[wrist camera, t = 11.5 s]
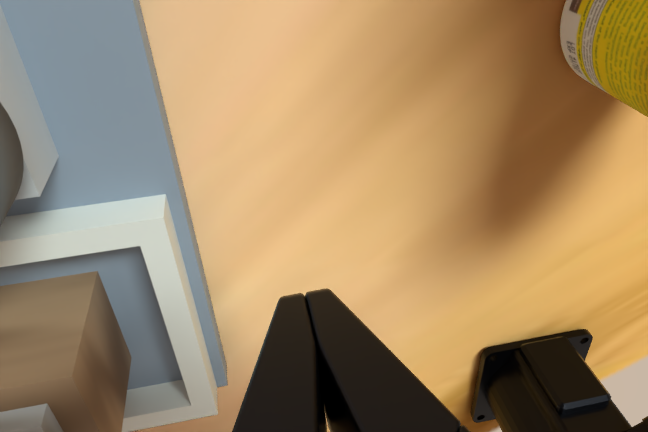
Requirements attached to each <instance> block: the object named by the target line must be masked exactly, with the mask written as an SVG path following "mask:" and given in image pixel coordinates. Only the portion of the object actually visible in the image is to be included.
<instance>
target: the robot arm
mask: <svg viewBox="0 0 648 432" xmlns="http://www.w3.org/2000/svg"><path fill="white" fill-rule="evenodd" d="M592 338H593V337H592V335H591V334H590V333H589V331H588V330H586V329H582V330H576V331H571V332H566V333H561V334H556V335H551V336H545V337H540V338H535V339H530V340H525V341H519V342H514V343H509V344H504V345H499V346H494V347H490V348H487V349H486V350H484V351H483V353H482V355H481V361H480V366H479V371H478V377H477V382H476V387H475V392H474V398H473V403H472V408H471V417H472V419H473V421H474V422H483V421H488V420H493V419H496V420H497V422H498V424H499V426H500V428H501V430H502V432H648V416H647V417H646V418H644V419H642V420H643V422H641V423H639V424H637V425H636V426H634V427H631V425H630V424H629V423H628V421H627V420H626V419H625V417H624V416H623V415H622V413H621V412H620V411H619V409H618V408H617V407H616V405H615V404H614V403H613V402H612V400H611V396H610V394H609V393H608V391H607V390H606V389H605V387H604V386H603V385H602V383H601V382H600V381H599V379H598V378H597V377H596V375H595V374H594V373H593V371H592V370H591V369H590V367H589V366H588V365H587V364H586V362H585V358H586V355H587V353H588V350H589V347H590V344H591V342H592ZM325 414H326V417H325ZM326 418H327V423H328V426H329V429H330V432H470V431H469V430H468V429H467V428H466V427H465V426H464V425H462V426H460V425H461V423H460V421H459V420H458V419H457V418H456V417H455V416H454V415H453V414H452V413H451V412H450V411H449V410H448V409H447V408H446V407H445V406H444V405H443V404H442V403H441V402H440V401H439V400H438V399H437V397H436V396H435V395H434V394H433V393H432V392H431V391H430V390H429V389H428V388H427V387H426V386H425V385H424V384H423V383H422V382H421V381H420V380H419V379H418V378H417V377H416V376H415V375H414V374H413V373H412V372H411V371H410V370H409V369H408V368H407V367H406V366H405V365H404V364H403V363H402V362H401V361H400V360H399V359H398V358H397V357H396V356H395V355H394V354H393V353H392V352H391V351H390V350H389V349H388V348H387V347H386V346H385V345H384V344H383V343H382V342H381V341H380V340H379V339H378V338H377V337H376V336H375V335H374V334H373V333H372V332H371V331H370V330H369V329H368V328H367V327H366V326H365V324H364V323H363V322H362V321H361V320H360V319H359V318H358V317H357V316H356V315H355V314H354V313H353V312H352V311H351V310H350V309H349V308H348V307H347V306H346V305H345V304H344V303H343V302H342V301H341V300H340V299H339V298H338V297H337V296H336V295H335V294H334V293H333V292H332V291H331V290H329V289H321V290H315V291H310V292H307V293H306V295H305V296H304V295H303V294H302V293H299V294H293V295H288V296H283V297H281V298H280V299H279V301H278V303H277V306H276V309H275V312H274V315H273V317H272V320H271V323H270V326H269V329H268V332H267V334H266V337H265V340H264V343H263V346H262V349H261V351H260V354H259V357H258V360H257V363H256V366H255V368H254V371H253V374H252V377H251V380H250V383H249V385H248V388H247V391H246V394H245V397H244V400H243V402H242V405H241V408H240V411H239V414H238V417H237V419H236V422H235V425H234V428H233V431H232V432H327V425H326Z"/></svg>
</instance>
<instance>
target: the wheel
mask: <svg viewBox="0 0 648 432" xmlns="http://www.w3.org/2000/svg"><path fill="white" fill-rule="evenodd" d="M23 171H24V165H23V153H22V147H21V142H20V140H19V137H18V134H17V131H16V128H15V126H14V124H13V122H12V120H11V118H10V116H9V114H8V113H7V111H6V110H5V108H4V107H3V105H2V104H1V102H0V226H1V225H2V223H3V221H4V219H5V217H6V215H7V213H8V211H9V210H10V208H11V206H12V204H13V202H14V200H15V198H16V196H17V195H18V192H19V189H20V186H21V183H22V177H23Z"/></svg>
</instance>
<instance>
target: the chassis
mask: <svg viewBox="0 0 648 432" xmlns="http://www.w3.org/2000/svg"><path fill="white" fill-rule="evenodd" d="M0 102H1V104H2V105H3V107H4V108H5V110H6V111H7V113H8V114H9V116H10V118H11V120H12V122H13V124H14V126H15V128H16V131H17V134H18V137H19V140H20V142H21V147H22V153H23V165H24V171H23V177H22V183H21V186H20V189H19V192H18V195H17V196H16V198H15V200H14V202H13V204H12V206H11V208H10V210H9V211H8V213H7V215H6V217H5V219H4V221H3V223H2V225H1V226H0V286H4V285H11V284H17V283H23V282H30V281H36V280H43V279H49V278H55V277H62V276H68V275H75V274H81V273H87V272H94V271H98V273H99V276H100V278H101V281H102V283H103V286H104V288H105V291H106V293H107V296H108V298H109V301H110V304H111V306H112V309H113V311H114V314H115V316H116V319H117V321H118V324H119V327H120V329H121V332H122V334H123V337H124V339H125V342H126V344H127V347H128V349H129V352H130V355H131V357H132V358H131V366H130V373H129V380H128V388H127V395H126V403H125V410H124V417H123V425H122V432H131V431H136V430H141V429H146V428H151V427H157V426H162V425H167V424H172V423H177V422H182V421H187V420H192V419H197V418H202V417H207V416H212V415H218V401H217V387H221V386H226V385H228V384H227V365H226V361H225V357H224V353H223V349H222V344H221V340H220V336H219V332H218V328H217V324H216V319H215V315H214V311H213V307H212V303H211V299H210V294H209V290H208V286H207V282H206V278H205V274H204V269H203V265H202V261H201V257H200V253H199V248H198V244H197V240H196V236H195V232H194V228H193V223H192V219H191V215H190V211H189V207H188V203H187V198H186V194H185V190H184V186H183V182H182V178H181V173H180V169H179V165H178V161H177V157H176V153H175V148H174V144H173V140H172V136H171V132H170V128H169V123H168V119H167V115H166V111H165V107H164V102H163V98H162V94H161V90H160V86H159V82H158V77H157V73H156V69H155V65H154V61H153V57H152V52H151V48H150V44H149V40H148V36H147V32H146V27H145V23H144V19H143V15H142V11H141V7H140V2H139V0H0Z"/></svg>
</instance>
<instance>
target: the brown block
mask: <svg viewBox="0 0 648 432" xmlns="http://www.w3.org/2000/svg"><path fill="white" fill-rule="evenodd" d="M131 358H132V357H131V355H130V352H129V349H128V347H127V344H126V342H125V339H124V337H123V334H122V332H121V329H120V327H119V324H118V321H117V319H116V316H115V314H114V311H113V309H112V306H111V304H110V301H109V298H108V296H107V293H106V291H105V288H104V286H103V283H102V281H101V278H100V276H99V273H98V271H94V272H87V273H81V274H75V275H68V276H62V277H55V278H49V279H43V280H36V281H30V282H23V283H17V284H11V285H4V286H0V432H122V425H123V417H124V410H125V403H126V395H127V388H128V380H129V373H130V366H131Z"/></svg>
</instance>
